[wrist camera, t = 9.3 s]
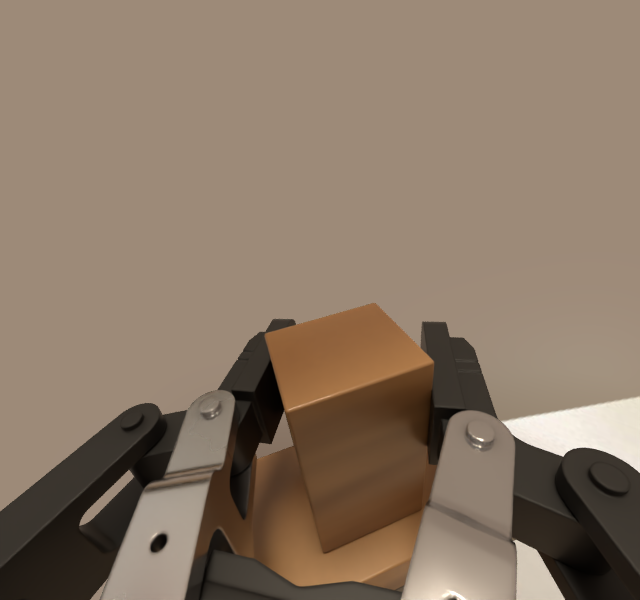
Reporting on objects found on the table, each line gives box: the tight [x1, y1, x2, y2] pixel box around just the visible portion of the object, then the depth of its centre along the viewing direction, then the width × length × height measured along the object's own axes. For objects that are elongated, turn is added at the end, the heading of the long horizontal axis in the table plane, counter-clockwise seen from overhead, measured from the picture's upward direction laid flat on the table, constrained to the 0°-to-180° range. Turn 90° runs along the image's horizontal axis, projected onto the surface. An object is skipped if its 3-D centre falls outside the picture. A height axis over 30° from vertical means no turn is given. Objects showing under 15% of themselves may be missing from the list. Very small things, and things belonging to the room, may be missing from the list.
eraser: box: [252, 303, 516, 592], centre depth 10 cm, size 5×11×9 cm, turn 108°
